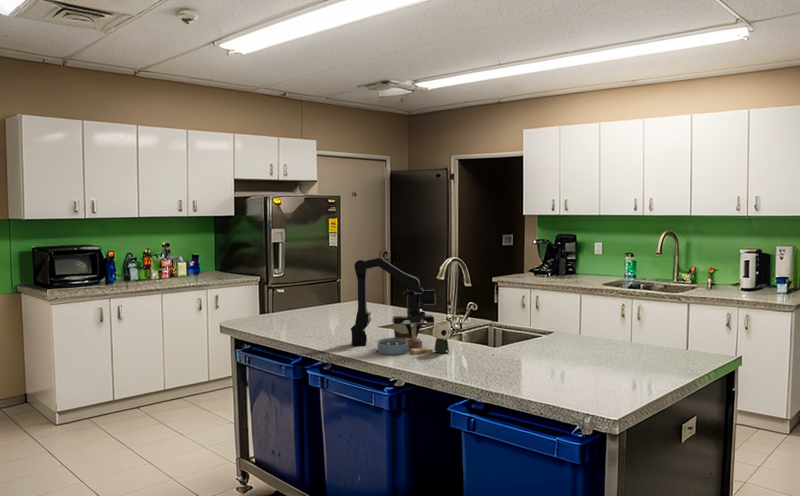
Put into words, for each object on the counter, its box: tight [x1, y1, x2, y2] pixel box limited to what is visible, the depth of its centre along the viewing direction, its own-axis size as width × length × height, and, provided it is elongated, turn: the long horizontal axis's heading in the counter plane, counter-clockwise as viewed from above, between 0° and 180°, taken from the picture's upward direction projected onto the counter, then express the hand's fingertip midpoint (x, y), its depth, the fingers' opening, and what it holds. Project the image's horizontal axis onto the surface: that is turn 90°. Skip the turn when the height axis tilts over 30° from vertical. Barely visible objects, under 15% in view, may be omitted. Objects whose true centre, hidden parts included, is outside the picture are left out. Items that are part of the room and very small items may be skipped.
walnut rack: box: [404, 337, 423, 349], centre depth 281 cm, size 7×8×2 cm
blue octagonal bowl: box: [376, 338, 410, 356], centre depth 269 cm, size 13×13×4 cm
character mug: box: [432, 321, 452, 354], centre depth 266 cm, size 11×7×13 cm, turn 132°
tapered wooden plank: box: [409, 346, 434, 356], centre depth 266 cm, size 9×4×2 cm, turn 115°
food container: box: [391, 315, 416, 339], centre depth 300 cm, size 12×6×10 cm, turn 84°
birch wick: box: [411, 324, 416, 342], centre depth 281 cm, size 2×4×9 cm, turn 8°
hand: (413, 337), depth 281 cm, fingers open, 2 cm apart
